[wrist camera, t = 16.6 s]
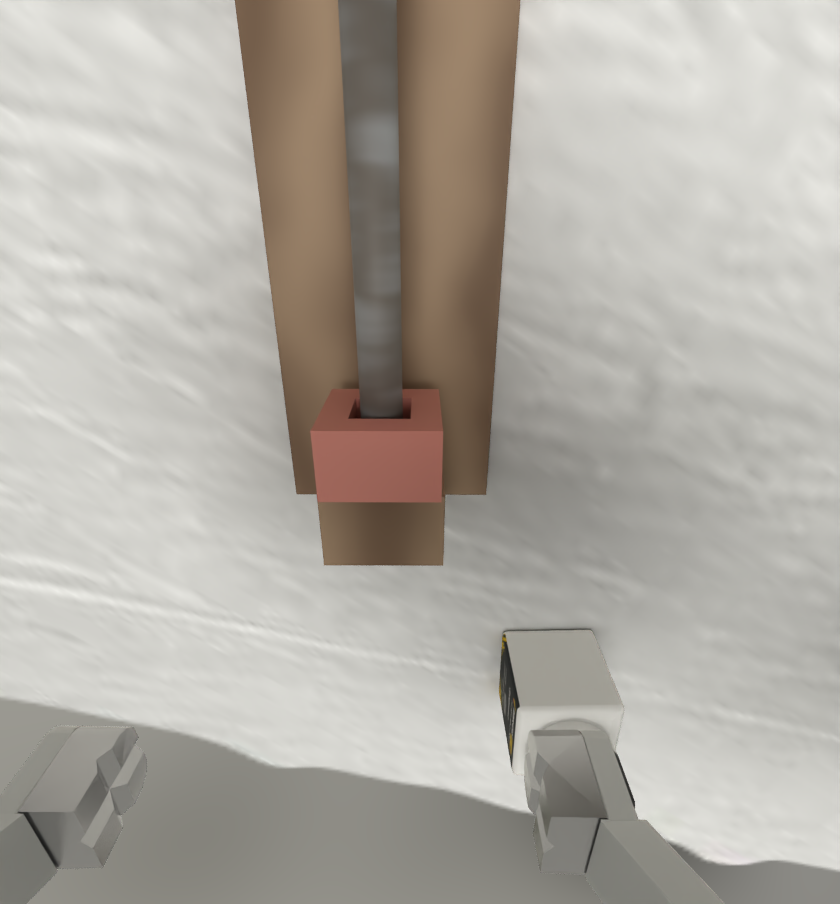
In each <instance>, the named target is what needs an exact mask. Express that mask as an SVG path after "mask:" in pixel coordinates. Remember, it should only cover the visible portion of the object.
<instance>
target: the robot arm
mask: <svg viewBox="0 0 840 904" xmlns="http://www.w3.org/2000/svg"><path fill="white" fill-rule="evenodd" d="M137 740H138V735H137V733H136V731H135V728H134V727H101V726H55V727H54V728H53V729H51V730H50V731H49V732H48V733H47V734H46V735H45V736H44V737H43V739H42V740H41V741H40V743H39V744H38V746H37V747H36V748H35V749H34V751H33V752H32V754H31V755H30V756H29V757H28V759H27V760H26V762H25V763H24V764H23V766H22V767H21V768H20V770H19V771H18V772H17V774H16V775H15V776H14V778H13V779H12V781H11V782H10V783H9V784H8V786H7V787H6V789H5V790H4V791H3V793H2V794H1V795H0V904H27V903H28V902H29V901H30V899H32V897H34V896H35V894H37V892H38V891H39V890H40V889H41V888H42V887H43V886H44V885H45V884H46V883H47V882H48V881H49V880H50V879H51V878H52V877H53V876H54V875H55V874H56V873H57V871H58V870H57V869H72V868H103V867H104V865H105V863H106V861H107V859H108V857H109V855H110V853H111V851H112V849H113V847H114V845H115V843H116V841H117V839H118V837H119V835H120V833H121V831H122V829H123V827H122V818H121V815H122V814H123V813H125V812H126V811H127V810H128V809H129V808H130V807H131V806H133V805H134V804H135V802H136V800H137V798H138V796H139V794H140V792H141V790H142V788H143V784H144V780H145V777H146V773H147V759H146V756H145V753H144V751H143V750H141V749H140V748H138V747H137V746H136V745H135V743H136V741H137ZM527 742H528V747H529V752H528V753H527V754H526V755H525V762H524V781H525V790H526V797H527V803H528V807H529V809H530V810H531V811H532V812H533V814H534V815H535V822H534V828H533V837H534V842H535V848H536V853H537V858H538V864H539V869H540V873H555V874H579V875H585V878H586V880H587V881H588V883H589V884H590V886H591V887H592V889H593V890H594V892H595V893H596V895H597V896H598V898H599V899H600V901H601V902H602V904H725V903H724V902H723V901H722V900H721V899H720V898H719V897H718V896H717V895H716V894H715V893H714V892H713V890H712V889H711V888H710V887H709V886H708V885H707V884H706V883H705V882H704V881H703V880H702V879H701V878H700V877H699V876H698V875H697V873H696V872H695V871H694V870H693V869H692V868H691V867H690V866H689V865H688V864H687V863H686V862H685V861H684V860H683V859H682V858H681V857H680V855H679V854H678V853H677V852H676V851H675V850H674V849H673V848H672V847H671V846H670V845H669V844H668V843H667V841H666V840H665V839H664V838H663V837H662V836H661V835H660V834H659V833H658V832H657V831H656V830H655V829H654V828H653V827H652V826H651V824H650V823H649V822H648V821H647V820H638V817H637V814H636V811H635V809H634V806H633V803H632V800H631V797H630V795H629V792H628V789H627V786H626V784H625V781H624V778H623V775H622V773H621V770H620V767H619V764H618V761H617V759H616V756H615V753H614V750H613V748H612V745H611V742H610V739H609V737H608V735H607V734H606V733H605V731H602V730H530V732H529V734H528V740H527Z"/></svg>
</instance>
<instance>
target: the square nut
mask: <svg viewBox="0 0 840 904" xmlns="http://www.w3.org/2000/svg"><path fill="white" fill-rule="evenodd" d="M402 394H403V419H361V412H360V394H359V389H332V390H331V392H330V394H329V396H328V398H327V400H326V402H325V404H324V406H323V407H322V409H321V411H320V413H319V415H318V417H317V419H316V421H315V423H314V425H313V427H312V429H311V431H310V433H311V442H312V452H313V462H314V471H315V481H316V490H317V500H318V502H442V460H443V425H442V415H441V405H440V396H439V389H402Z"/></svg>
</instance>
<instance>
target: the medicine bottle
mask: <svg viewBox="0 0 840 904" xmlns="http://www.w3.org/2000/svg"><path fill="white" fill-rule="evenodd" d="M499 694H500V700H501V707H502V713H503V719H504V725H505V731H506V737H507V743H508V749H509V755H510V761H511V767H512V771H513V773H514V774H515V775H524V762H525V755H526V754H527V753H528V752H529V747H528V742H527V740H528V734H529V732H530V730H602V731H605V733H606V734H607V735H608V737H609V739H610V742H611V745H612V748H613V750H614V753H615V756H616V759H617V761H618V764H619V767H620V770H621V773H622V775H623V778H624V781H625V784H626V786H627V789H628V792H629V795H630V797H631V800H632V803H633V806H634V809H635V801H634V798H633V795H632V793H631V790H630V787H629V784H628V782H627V779H626V776H625V774H624V771H623V768H622V765H621V763H620V760H619V757H618V754H617V752H616V746H617V741H618V737H619V732H620V728H621V724H622V719H623V715H624V706H623V703H622V701H621V698H620V696H619V694H618V691H617V689H616V686H615V684H614V682H613V679H612V677H611V674H610V672H609V669H608V667H607V665H606V662H605V660H604V657H603V655H602V653H601V650H600V648H599V645H598V643H597V641H596V638H595V636H594V633H593V632H592V631H591V630H550V631H506V632H504V633H503V638H502V654H501V670H500V686H499Z"/></svg>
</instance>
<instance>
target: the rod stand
mask: <svg viewBox="0 0 840 904" xmlns="http://www.w3.org/2000/svg"><path fill="white" fill-rule="evenodd" d="M235 5H236V13H237V21H238V29H239V37H240V45H241V53H242V61H243V69H244V77H245V85H246V93H247V101H248V109H249V117H250V125H251V133H252V141H253V149H254V157H255V165H256V173H257V181H258V189H259V197H260V205H261V213H262V221H263V229H264V237H265V245H266V253H267V261H268V269H269V277H270V285H271V293H272V301H273V309H274V317H275V325H276V333H277V341H278V349H279V357H280V365H281V373H282V381H283V389H284V397H285V405H286V413H287V421H288V429H289V437H290V445H291V453H292V461H293V469H294V477H295V485H296V493H297V494H317V490H316V481H315V471H314V462H313V452H312V442H311V433H310V431H311V429H312V427H313V425H314V423H315V421H316V419H317V417H318V415H319V413H320V411H321V409H322V407H323V406H324V404H325V402H326V400H327V398H328V396H329V394H330V392H331V390H332V389H359V394H360V412H361V419H403V394H402V389H439V396H440V405H441V415H442V425H443V460H442V502H318V510H319V520H320V529H321V539H322V549H323V558H324V565H443V553H444V516H445V494H450V495H486V487H487V473H488V458H489V444H490V430H491V415H492V401H493V386H494V372H495V357H496V343H497V328H498V314H499V300H500V285H501V271H502V256H503V242H504V227H505V213H506V199H507V184H508V170H509V155H510V141H511V126H512V112H513V98H514V83H515V69H516V54H517V40H518V25H519V11H520V0H235ZM317 501H318V500H317Z"/></svg>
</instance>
